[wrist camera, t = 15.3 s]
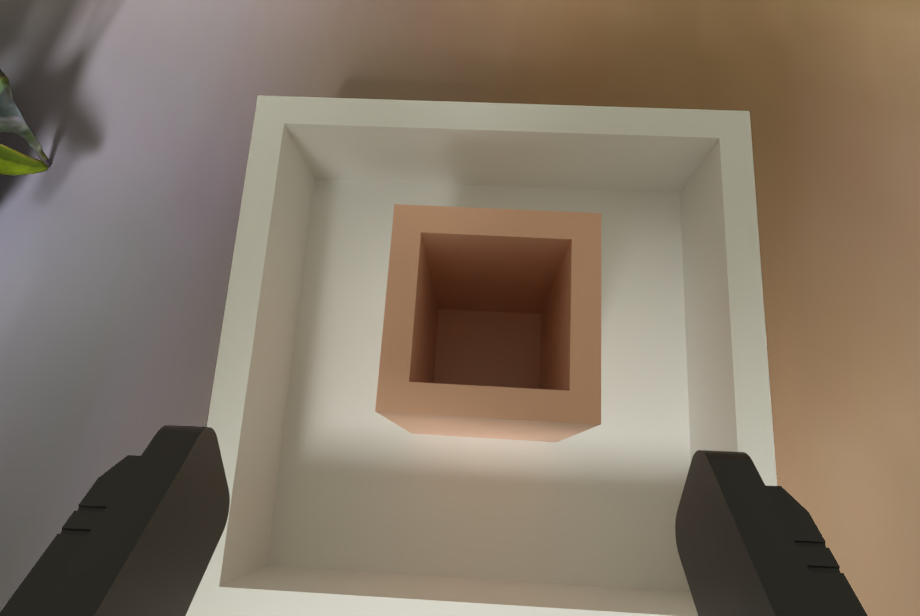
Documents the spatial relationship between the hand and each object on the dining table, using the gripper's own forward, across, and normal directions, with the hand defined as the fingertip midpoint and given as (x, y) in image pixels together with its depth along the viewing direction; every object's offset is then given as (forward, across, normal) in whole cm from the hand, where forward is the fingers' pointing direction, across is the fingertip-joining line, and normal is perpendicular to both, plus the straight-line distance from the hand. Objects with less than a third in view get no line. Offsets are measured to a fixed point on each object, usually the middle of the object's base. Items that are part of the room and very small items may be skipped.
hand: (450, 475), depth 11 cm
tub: (+10, -1, +5) cm, 12 cm away
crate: (+11, -1, +6) cm, 13 cm away
